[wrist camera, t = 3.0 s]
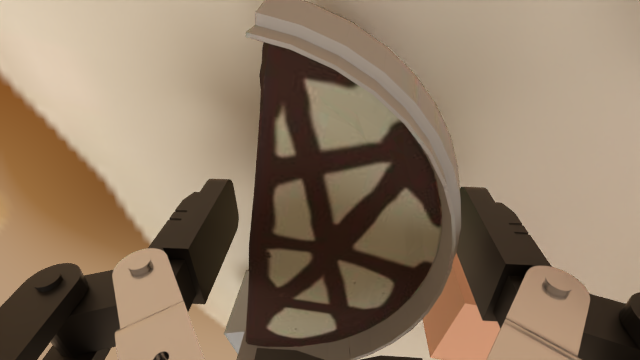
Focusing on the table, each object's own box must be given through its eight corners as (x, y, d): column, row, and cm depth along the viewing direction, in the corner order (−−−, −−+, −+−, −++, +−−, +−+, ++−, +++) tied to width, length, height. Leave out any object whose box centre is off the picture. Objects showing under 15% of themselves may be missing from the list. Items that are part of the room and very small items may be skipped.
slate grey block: (312, 260, 23) (303, 326, 19) (330, 307, 25) (326, 374, 21) (246, 269, 24) (223, 333, 20) (269, 313, 26) (254, 378, 22)
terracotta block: (519, 250, 21) (561, 321, 17) (485, 300, 24) (514, 372, 19) (442, 235, 21) (465, 303, 17) (416, 287, 23) (430, 357, 19)
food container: (379, 227, 21) (398, 403, 12) (282, 210, 21) (234, 375, 12) (453, 9, 14) (603, 64, 6) (310, -18, 14) (246, -3, 6)
